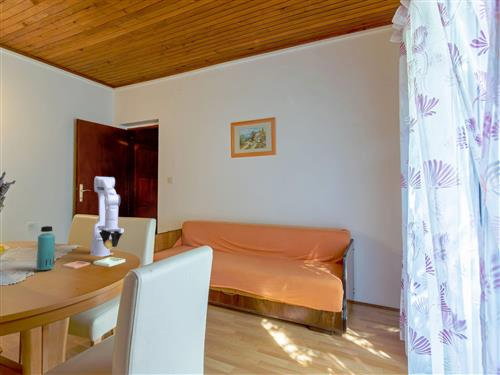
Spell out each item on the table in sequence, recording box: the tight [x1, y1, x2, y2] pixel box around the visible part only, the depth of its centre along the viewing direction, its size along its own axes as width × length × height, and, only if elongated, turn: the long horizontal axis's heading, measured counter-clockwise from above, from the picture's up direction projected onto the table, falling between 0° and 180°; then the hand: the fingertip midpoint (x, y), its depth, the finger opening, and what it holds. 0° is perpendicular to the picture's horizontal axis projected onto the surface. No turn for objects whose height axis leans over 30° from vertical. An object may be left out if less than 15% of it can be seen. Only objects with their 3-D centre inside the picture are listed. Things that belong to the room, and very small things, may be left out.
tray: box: [93, 256, 126, 268], centre depth 136 cm, size 10×10×2 cm
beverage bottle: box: [35, 225, 56, 271], centre depth 121 cm, size 6×7×20 cm
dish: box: [61, 260, 91, 270], centre depth 130 cm, size 8×8×1 cm
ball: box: [104, 238, 115, 250], centre depth 136 cm, size 5×5×5 cm
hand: (110, 246), depth 136 cm, fingers closed on ball, 5 cm apart
